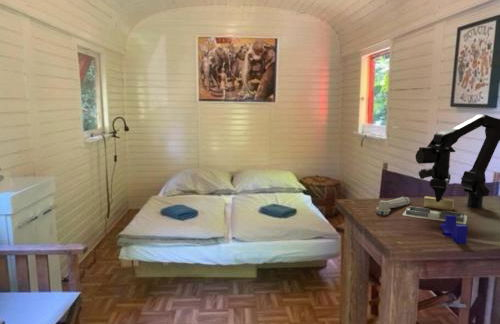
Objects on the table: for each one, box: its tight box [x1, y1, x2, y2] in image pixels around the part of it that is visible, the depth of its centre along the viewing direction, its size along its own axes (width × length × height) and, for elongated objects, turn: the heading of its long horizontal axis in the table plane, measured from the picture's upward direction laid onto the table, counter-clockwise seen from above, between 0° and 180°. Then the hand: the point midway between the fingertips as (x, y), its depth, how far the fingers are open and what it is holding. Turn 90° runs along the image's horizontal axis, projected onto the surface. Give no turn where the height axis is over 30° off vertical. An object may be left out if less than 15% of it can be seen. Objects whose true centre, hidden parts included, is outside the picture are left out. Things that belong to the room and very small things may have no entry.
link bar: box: [423, 195, 455, 211], centre depth 159 cm, size 3×11×5 cm, turn 57°
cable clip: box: [439, 215, 469, 245], centre depth 127 cm, size 12×4×6 cm, turn 169°
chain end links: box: [405, 205, 465, 222], centre depth 148 cm, size 7×20×2 cm, turn 58°
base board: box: [402, 207, 468, 225], centre depth 148 cm, size 12×22×1 cm, turn 58°
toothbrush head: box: [375, 196, 412, 216], centre depth 159 cm, size 5×7×25 cm
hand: (439, 199), depth 159 cm, fingers open, 9 cm apart
